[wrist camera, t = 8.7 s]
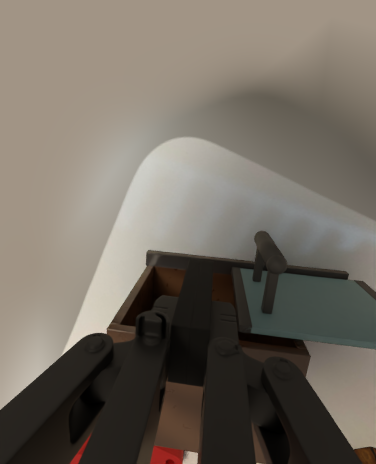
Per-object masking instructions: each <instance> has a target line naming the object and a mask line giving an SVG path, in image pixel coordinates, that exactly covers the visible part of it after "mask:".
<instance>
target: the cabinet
mask: <svg viewBox="0 0 376 464" xmlns="http://www.w3.org/2000/svg"><path fill="white" fill-rule="evenodd" d="M189 259H194V260H203V261H212V262H214V264H213V285H212V301H220V302H228V303H231V304H232V305H233V307H234V308H235V310H236V307H235V299H234V290H233V282H232V274H231V270H232V267H238V268H243V269H252V270H254V264H255V262H253V261H244V260H234V259H225V258H216V257H206V256H197V255H188V254H178V253H169V252H160V251H151V250H148V251H147V255H146V265H147V267H146V269H145V270H144V272H143V273H142V275H141V277H140V278H139V280H138V281H137V283H136V284H135V286H134V287H133V289H132V291H131V292H130V294H129V295H128V297H127V298H126V300H125V302H124V303H123V305H122V306H121V308H120V309H119V311H118V312H117V314H116V316H115V317H114V319H113V320H112V322H111V324H110V325H109V327H108V328H107V335H109V336H111V337H112V339H113V343H118V342H126V341H130V340H133V339H134V338H135V331H136V317H137V316H138V315H139V314H141V313H143V312H146V311H151V310H152V308H153V306H154V303H155V301H156V299H158V298H159V297H160V296H162V295H165V296H173V297H179V294H180V291H181V287H182V284H183V280H184V276H185V273H186V269H187V266H188V262H189ZM263 271H268V269H267V267H266V265H265V263H264V265H263ZM284 273H288V274H297V275H307V276H316V277H325V278H334V279H343V280H348V276H349V274H348V273H347V272H346V271H336V270H327V269H318V268H309V267H299V266H290V265H287V269H286V271H285V272H284ZM236 320H237V315H236ZM237 329H238V323H237ZM238 339H239V345H240V346H241V347H242V350H243V352H244V353H245V354H247V355H248V356H249V357H251V358H253V359H255V360H258V361H260V362H263V363H264V361H265V360H266V359H267V358H269V357H274V356H276V357H283V358H285V359H288V360H290V361H291V362H293V363H294V364H296V366H297V367H298V368H299V369H300V370H301V372H302V373H303V375H304V376H305V377H306V373H307V369H308V365H309V361H310V357H311V356H310V354H309V352H308V350H307V348H306V346H305V344H304V342H303V340H299V339H292V338H284V337H276V336H269V335H261V334H253V333H251V334H249V333H241V332H239V331H238ZM167 380H168V377H167ZM202 395H203V387H199V386H192V385H186V384H179V383H173V382H167V381H166V392H165V398H164V402H163V407H162V411H161V416H160V420H159V425H158V430H157V434H156V439H155V443H154V445H155V446H161V447H167V448H173V449H178V450H184V451H190V452H196V453H198V449H199V435H200V421H201V414H200V413H201V404H202ZM251 424H252V432H253V441H254V449H255V458H256V463H261V464H266V461H265V458H264V455H263V452H262V450H261V447H260V444H259V441H258V438H257V436H256V433H255V430H254V427H253V423H252V422H251Z"/></svg>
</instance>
